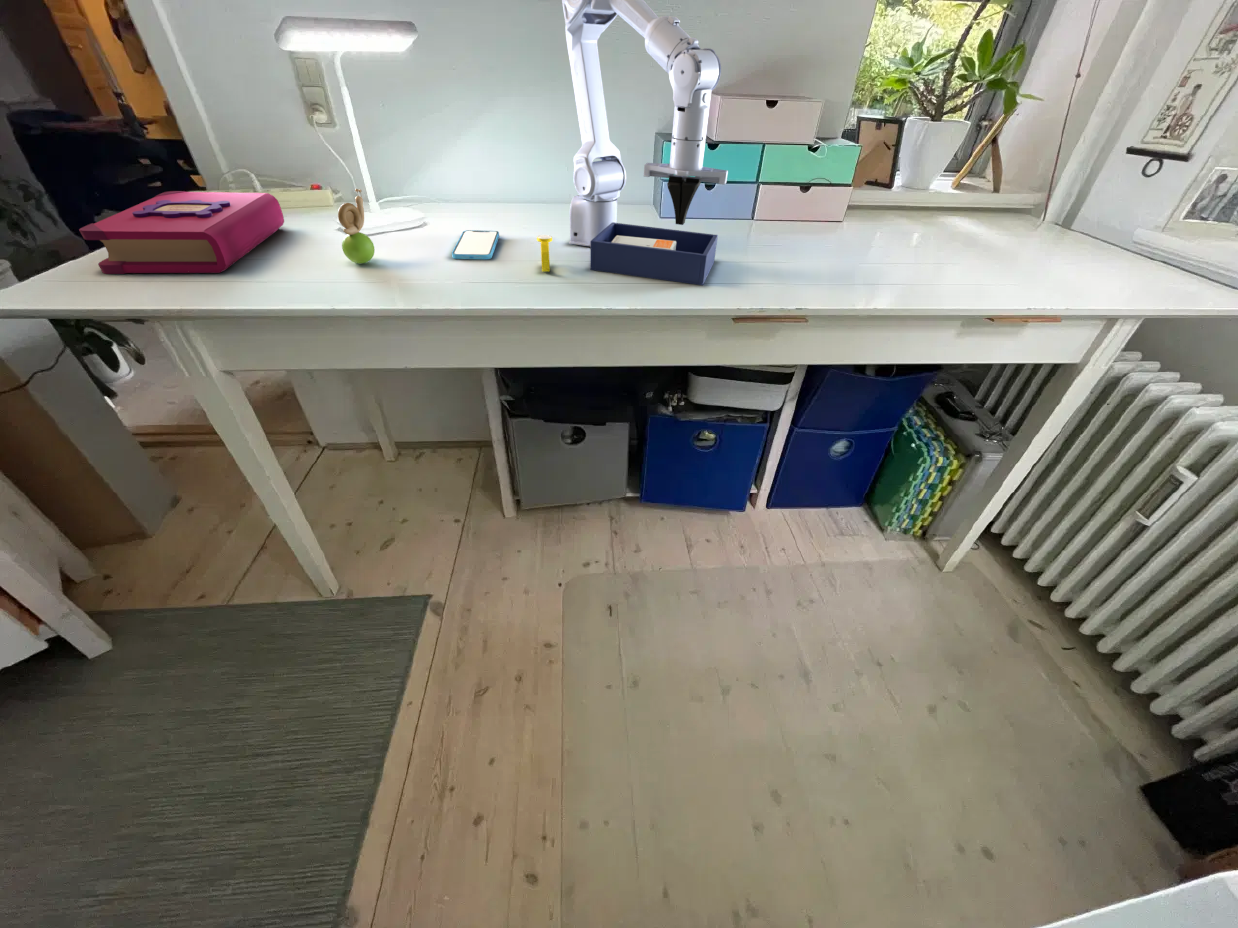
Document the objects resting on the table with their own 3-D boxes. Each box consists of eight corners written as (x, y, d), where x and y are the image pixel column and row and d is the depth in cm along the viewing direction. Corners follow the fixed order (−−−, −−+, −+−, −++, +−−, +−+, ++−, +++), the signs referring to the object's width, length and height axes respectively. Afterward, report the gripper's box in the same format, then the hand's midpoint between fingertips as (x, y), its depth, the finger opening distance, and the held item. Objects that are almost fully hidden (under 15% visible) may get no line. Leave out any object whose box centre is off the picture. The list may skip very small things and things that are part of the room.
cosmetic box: (672, 249, 101) (609, 243, 103) (670, 272, 104) (609, 266, 105) (676, 239, 106) (616, 234, 107) (674, 262, 108) (615, 256, 110)
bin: (590, 269, 104) (590, 241, 101) (611, 249, 114) (611, 222, 111) (702, 285, 100) (706, 255, 96) (714, 262, 110) (717, 235, 107)
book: (287, 228, 118) (275, 189, 113) (229, 273, 96) (211, 228, 91) (182, 227, 115) (164, 187, 111) (98, 274, 94) (72, 227, 89)
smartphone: (450, 254, 105) (463, 230, 117) (451, 260, 106) (464, 235, 118) (490, 255, 106) (499, 231, 117) (491, 261, 107) (499, 236, 118)
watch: (553, 275, 101) (552, 242, 97) (538, 275, 101) (536, 241, 97) (553, 264, 106) (552, 232, 102) (538, 264, 105) (537, 232, 102)
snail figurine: (387, 259, 105) (371, 190, 97) (364, 269, 100) (346, 198, 92) (363, 255, 106) (346, 187, 99) (339, 265, 101) (320, 194, 94)
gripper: (641, 138, 91) (636, 224, 99) (728, 145, 88) (716, 233, 96) (651, 132, 96) (646, 214, 105) (733, 139, 93) (721, 223, 102)
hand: (680, 223), depth 101 cm, fingers closed
